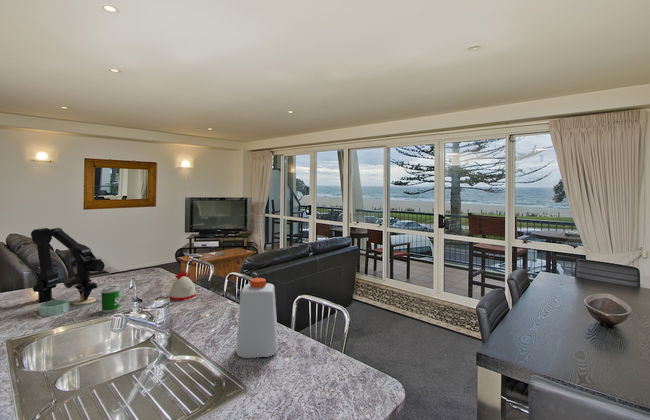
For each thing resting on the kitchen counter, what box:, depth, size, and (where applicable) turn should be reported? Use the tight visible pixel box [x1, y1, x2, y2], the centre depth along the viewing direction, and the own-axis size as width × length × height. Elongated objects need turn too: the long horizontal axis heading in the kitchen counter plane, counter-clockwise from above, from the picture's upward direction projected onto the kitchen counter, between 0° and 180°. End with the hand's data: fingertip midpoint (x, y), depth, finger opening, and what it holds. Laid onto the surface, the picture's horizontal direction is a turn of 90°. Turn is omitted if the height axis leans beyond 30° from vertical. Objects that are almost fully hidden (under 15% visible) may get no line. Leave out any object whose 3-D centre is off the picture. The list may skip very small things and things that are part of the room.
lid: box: [72, 294, 97, 305], centre depth 177 cm, size 10×10×4 cm
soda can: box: [100, 285, 121, 314], centre depth 165 cm, size 8×8×12 cm
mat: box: [69, 296, 102, 309], centre depth 177 cm, size 14×12×1 cm
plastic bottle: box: [236, 277, 279, 359], centre depth 128 cm, size 15×15×28 cm
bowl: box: [38, 298, 71, 317], centre depth 163 cm, size 11×11×4 cm
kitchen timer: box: [169, 270, 197, 301], centre depth 188 cm, size 14×14×15 cm
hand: (84, 299), depth 177 cm, fingers closed on lid, 3 cm apart
